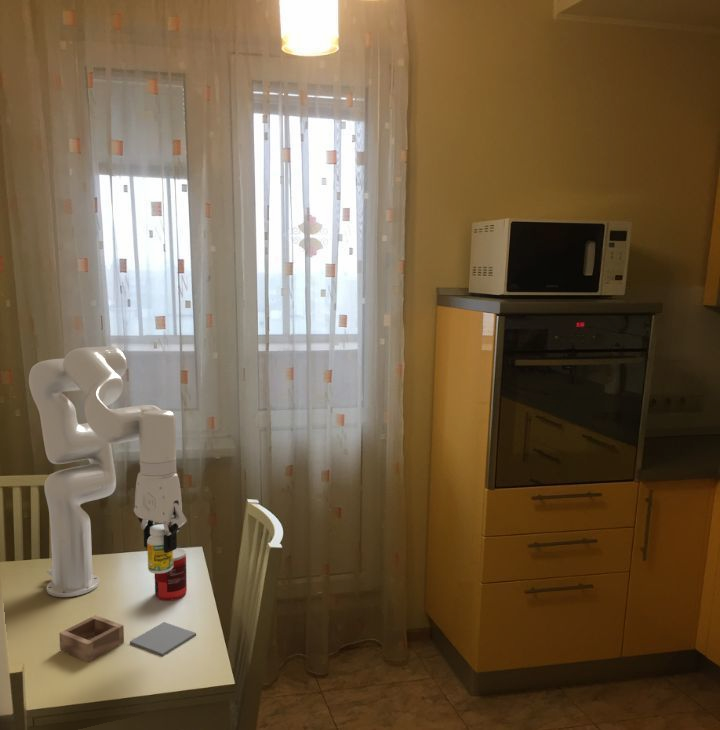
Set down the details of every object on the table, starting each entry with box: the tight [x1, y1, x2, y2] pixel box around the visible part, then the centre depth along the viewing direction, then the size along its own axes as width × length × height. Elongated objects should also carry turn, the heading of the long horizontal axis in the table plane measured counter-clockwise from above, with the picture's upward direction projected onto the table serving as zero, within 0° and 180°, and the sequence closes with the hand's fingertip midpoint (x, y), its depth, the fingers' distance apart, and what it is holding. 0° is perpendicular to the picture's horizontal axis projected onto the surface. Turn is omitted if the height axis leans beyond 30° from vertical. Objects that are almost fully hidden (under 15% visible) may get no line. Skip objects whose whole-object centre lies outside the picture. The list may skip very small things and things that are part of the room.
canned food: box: [154, 547, 188, 602], centre depth 168 cm, size 8×8×11 cm
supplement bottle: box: [146, 523, 173, 575], centre depth 145 cm, size 5×5×10 cm
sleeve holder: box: [58, 614, 125, 663], centre depth 143 cm, size 9×9×4 cm
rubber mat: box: [129, 621, 197, 657], centre depth 147 cm, size 10×10×1 cm
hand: (160, 547), depth 145 cm, fingers closed on supplement bottle, 5 cm apart
